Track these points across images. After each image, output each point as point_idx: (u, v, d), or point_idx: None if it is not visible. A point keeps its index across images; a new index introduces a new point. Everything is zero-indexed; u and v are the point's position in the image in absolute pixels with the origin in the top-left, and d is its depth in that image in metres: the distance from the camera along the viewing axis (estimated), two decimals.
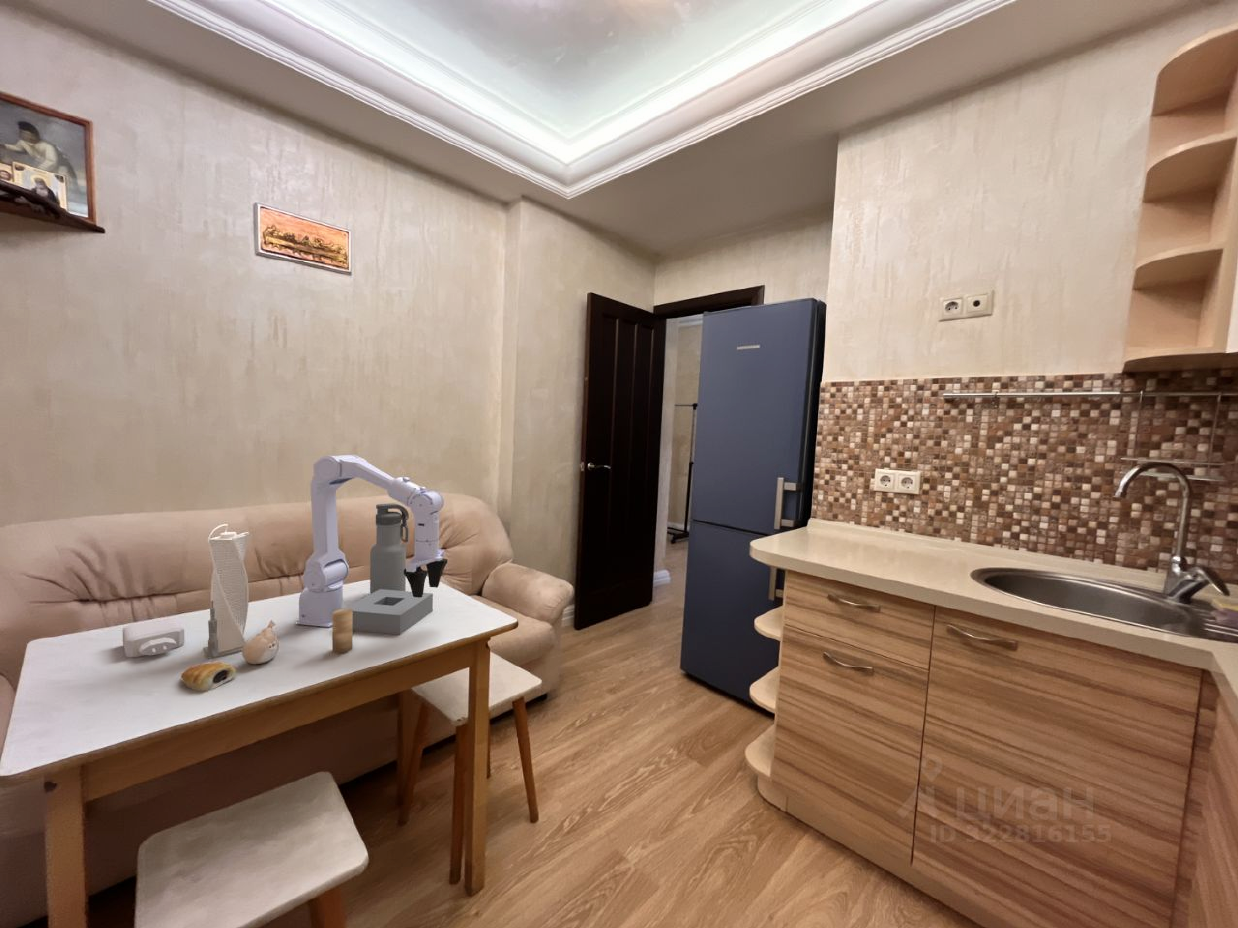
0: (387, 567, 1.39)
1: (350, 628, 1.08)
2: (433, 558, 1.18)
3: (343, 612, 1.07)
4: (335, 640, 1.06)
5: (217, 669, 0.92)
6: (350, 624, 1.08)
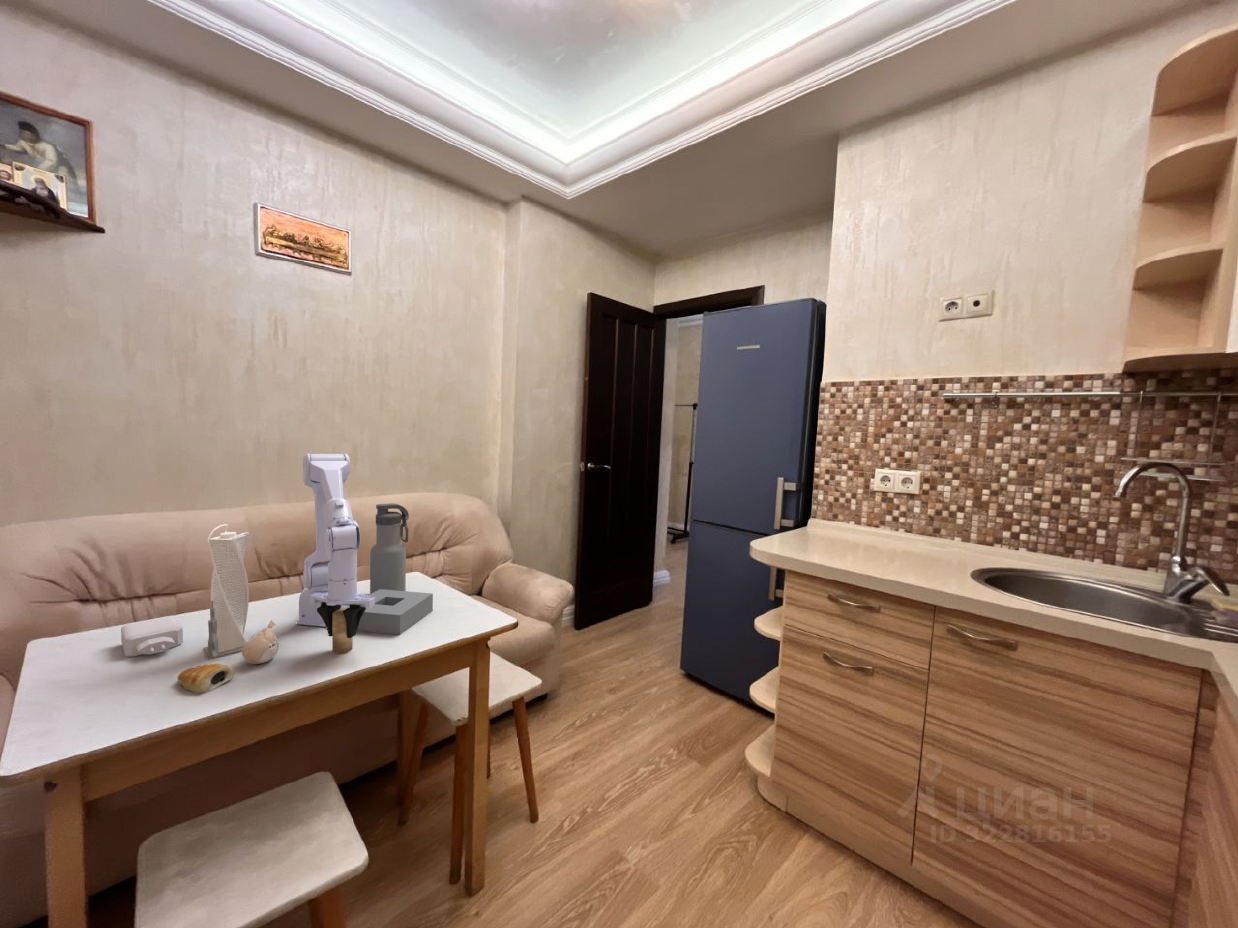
0: (387, 567, 1.39)
1: None
2: (328, 599, 1.05)
3: None
4: (335, 640, 1.06)
5: (215, 670, 0.91)
6: None
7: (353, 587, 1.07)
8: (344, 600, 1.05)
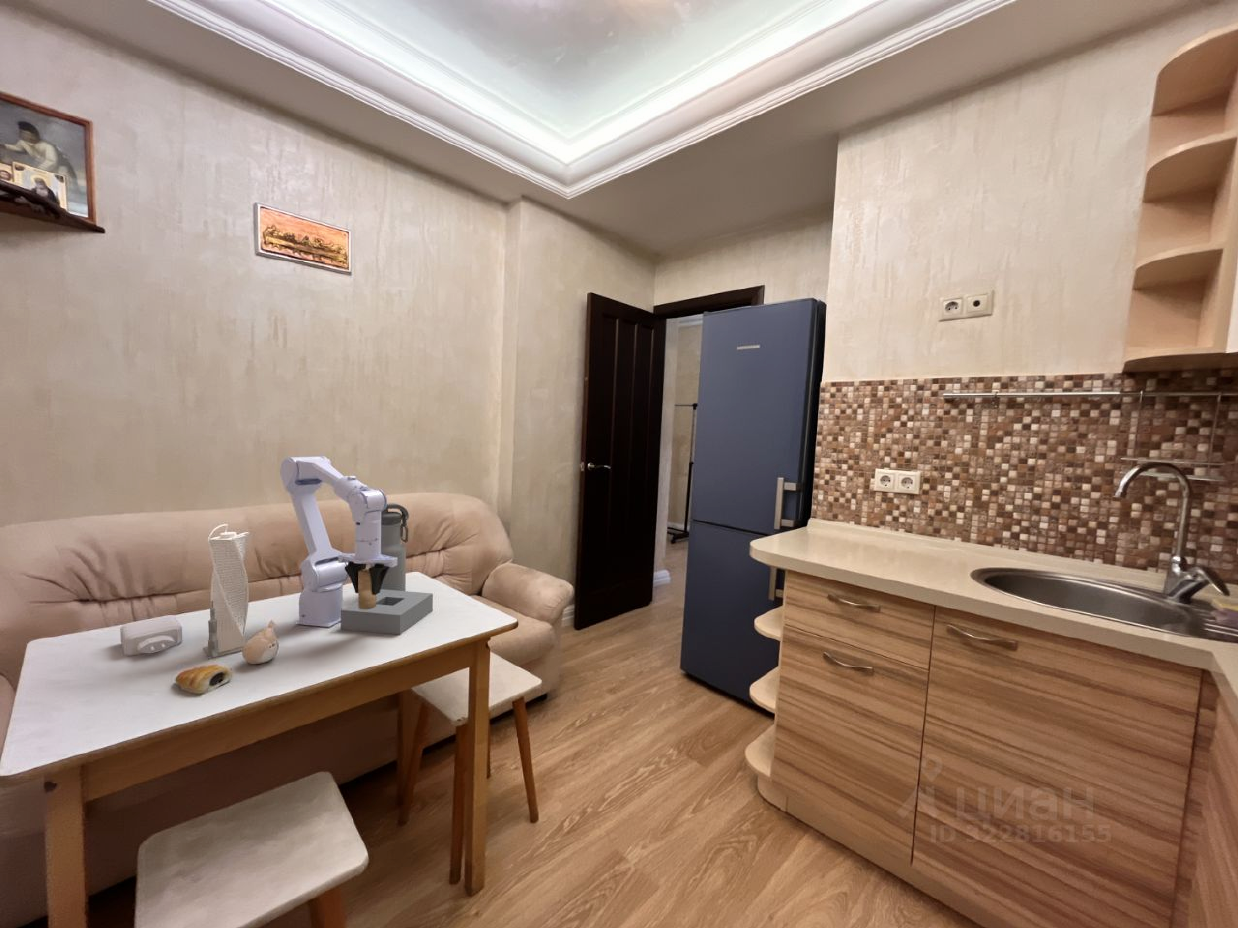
0: None
1: None
2: (355, 558, 1.14)
3: (367, 571, 1.16)
4: (360, 597, 1.15)
5: (214, 671, 0.91)
6: None
7: (377, 547, 1.15)
8: (369, 559, 1.14)
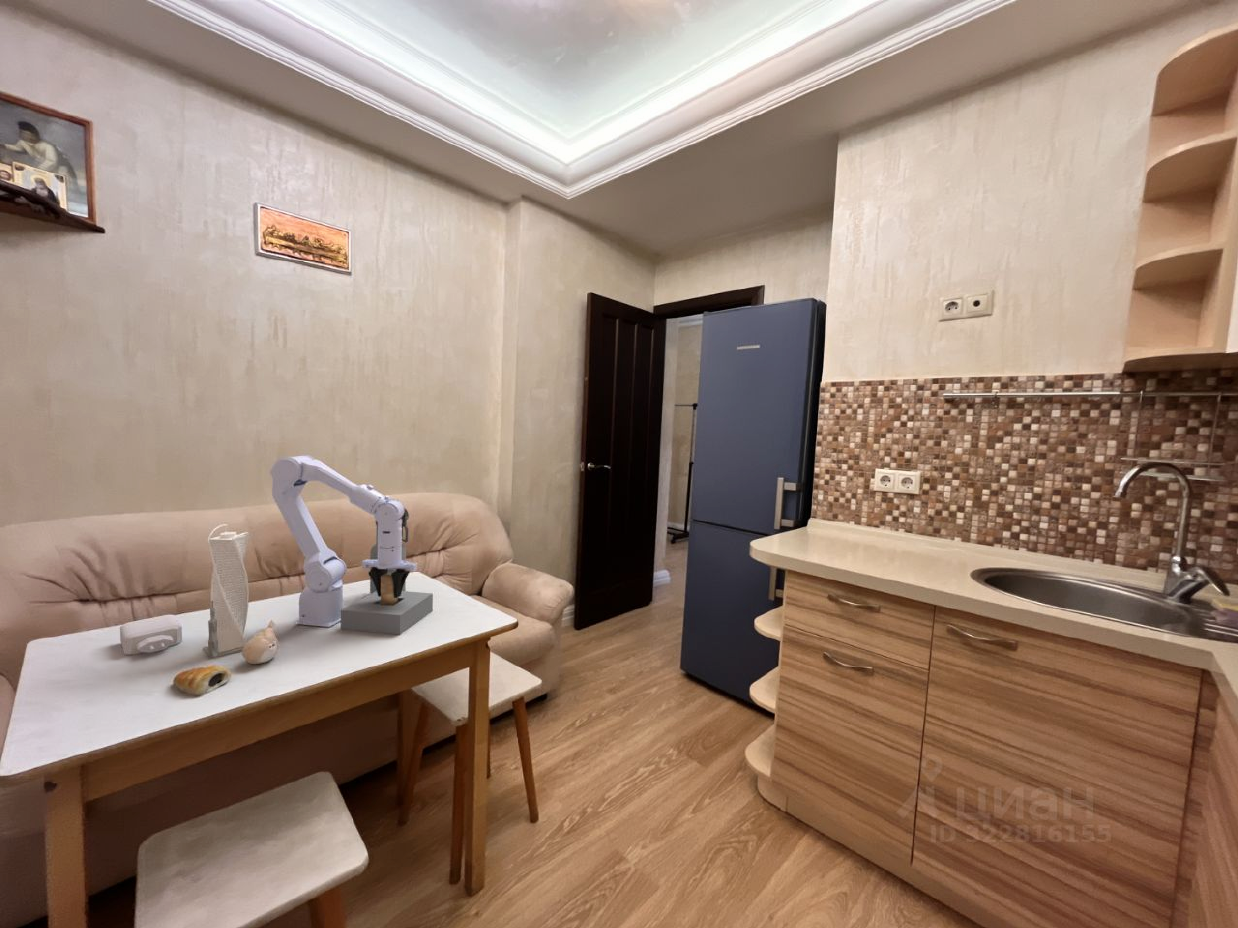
0: None
1: None
2: (378, 564, 1.23)
3: (389, 576, 1.25)
4: (383, 600, 1.24)
5: (212, 672, 0.90)
6: None
7: (399, 554, 1.24)
8: (392, 565, 1.23)
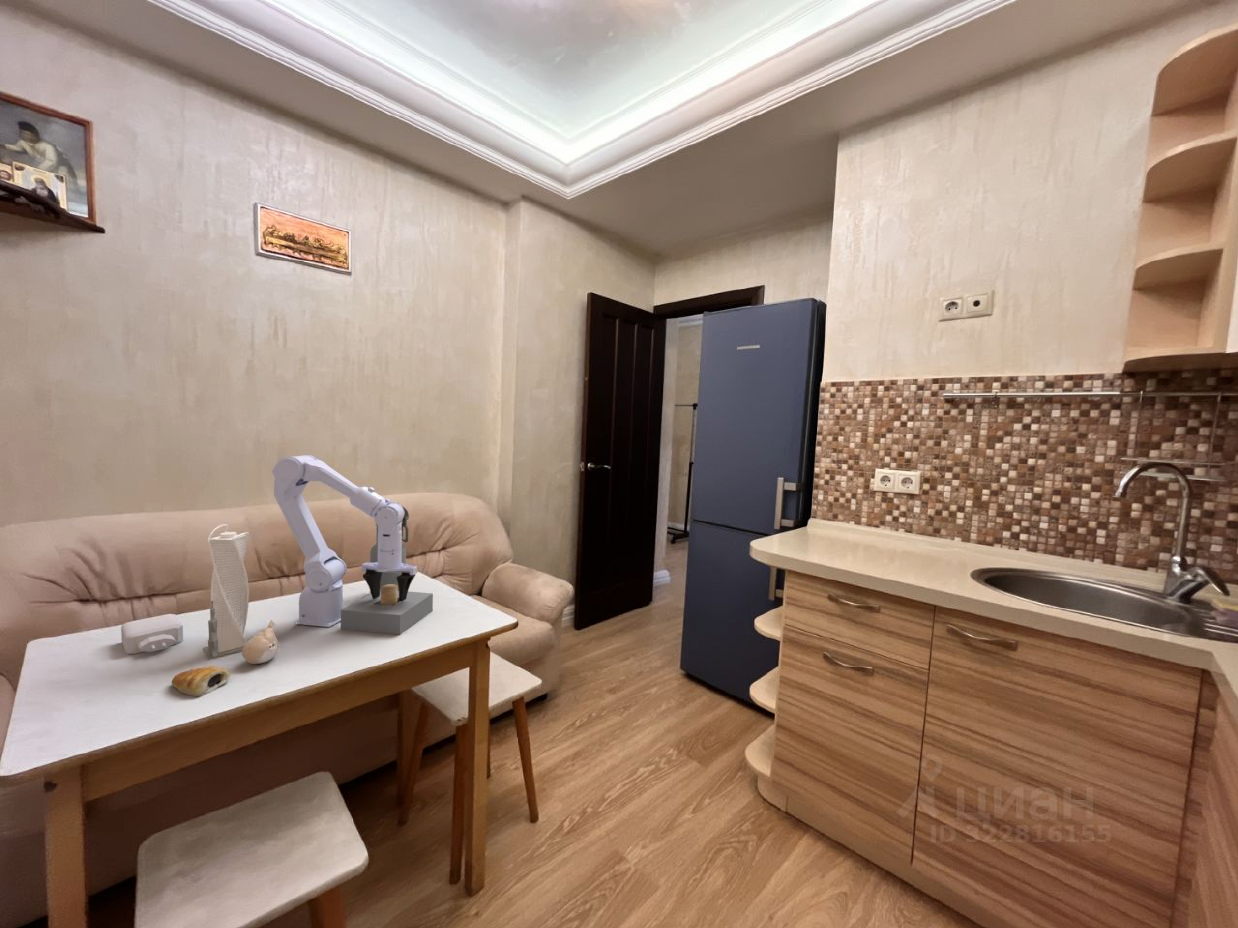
0: None
1: (396, 601, 1.26)
2: (378, 567, 1.23)
3: (389, 587, 1.25)
4: None
5: (211, 673, 0.90)
6: (396, 597, 1.26)
7: (399, 557, 1.25)
8: (392, 568, 1.23)
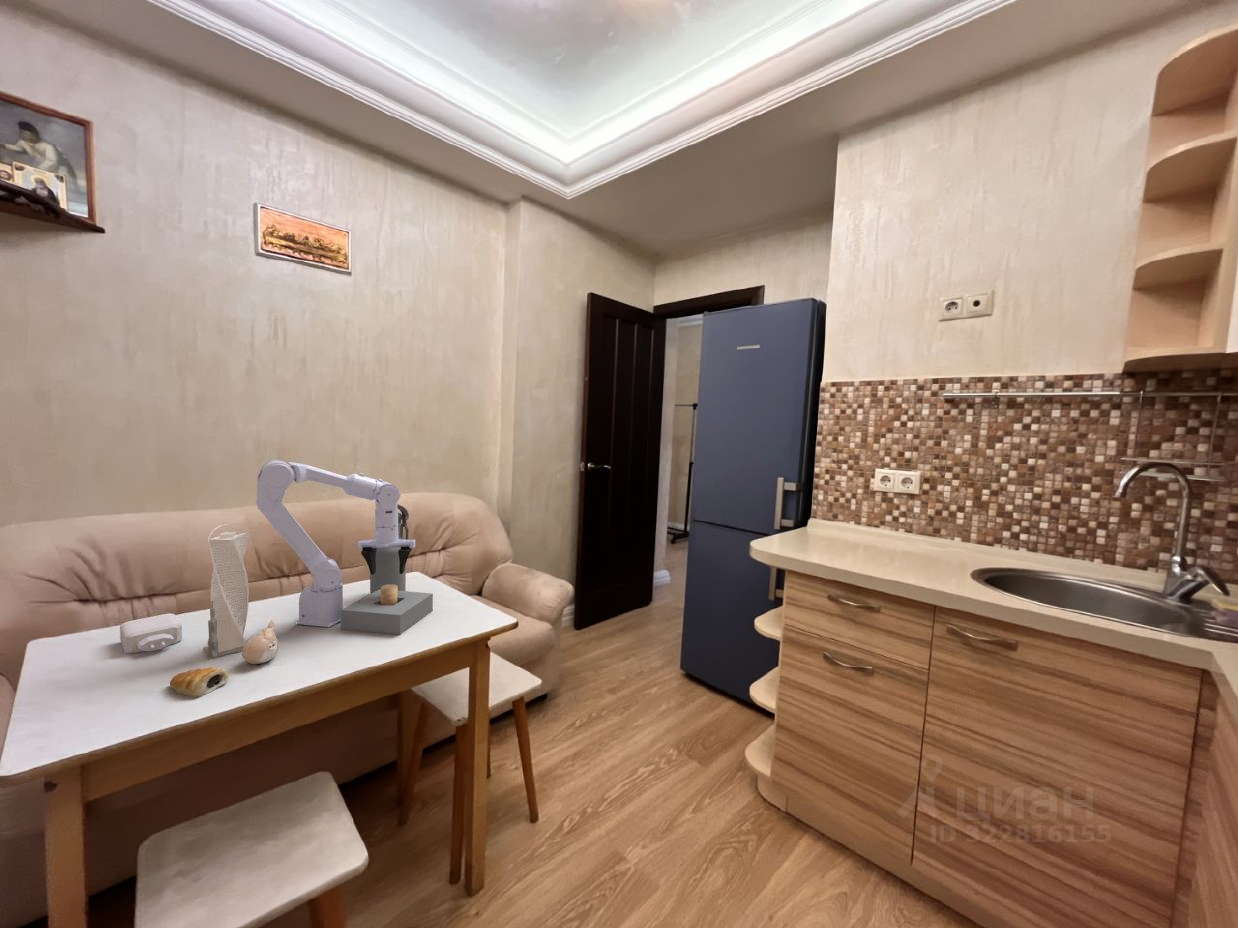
0: (387, 567, 1.39)
1: (396, 601, 1.26)
2: (378, 543, 1.29)
3: (389, 587, 1.25)
4: None
5: (210, 674, 0.90)
6: (396, 597, 1.26)
7: (397, 532, 1.32)
8: (392, 542, 1.30)
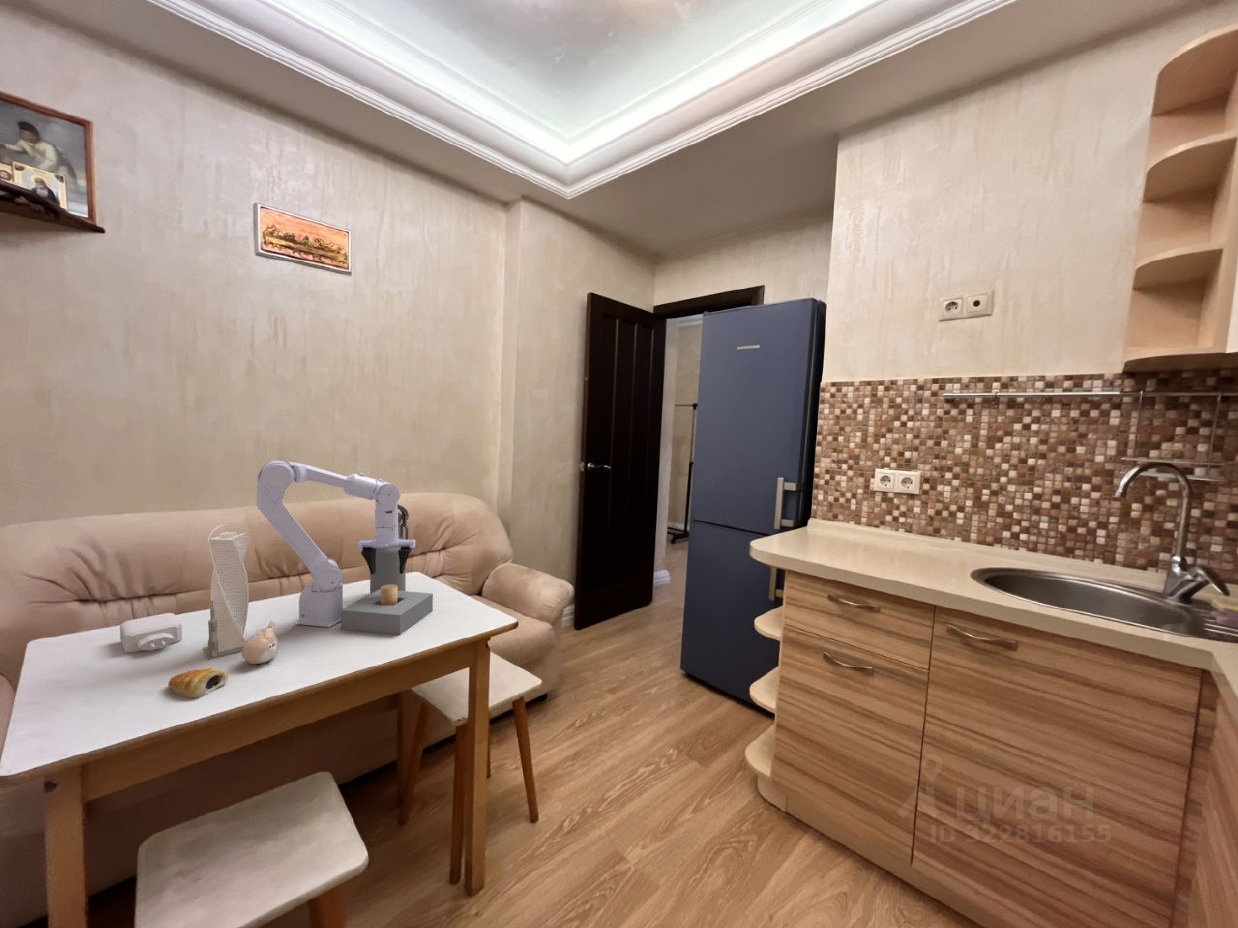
0: (387, 567, 1.39)
1: (396, 601, 1.26)
2: (378, 543, 1.29)
3: (389, 587, 1.25)
4: None
5: (210, 674, 0.90)
6: (396, 597, 1.26)
7: (397, 532, 1.32)
8: (392, 542, 1.30)
